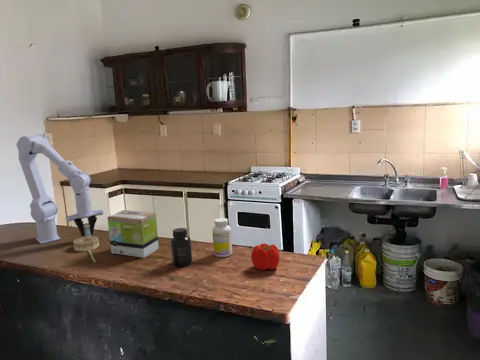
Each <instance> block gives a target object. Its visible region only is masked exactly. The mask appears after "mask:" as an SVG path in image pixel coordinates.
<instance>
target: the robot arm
mask: <svg viewBox="0 0 480 360" xmlns="http://www.w3.org/2000/svg"><path fill="white" fill-rule="evenodd" d="M16 148H17V150H18V156H17V157H18V161H19V164H20V166H21V169H22V172H23V175H24V177H25V178H24V179H25V181H26V183H27V186H28V189H29V191H30V195H31V198H32V201H31V202H30V204H29V208H30V216H31V219H33V221H34V222H35V226H36V234H37V237H35V240H36V241H37V242H38V244H42V245H43V244H47V243H49V242H50V243H51V242H54V241H59V240H62V239H61V237H60V236H59V235H58V229H57V222H56V215H57V213H58V210H59V209H58V205H57V204H56V202H55V201H54V199H53V198H52V197H51V196H50V195H48V194H47V191H46V189H45V185H44V182H43V180H42V176H41V174H40V170H39V168H38V165H37V162H36V157H37V156H38V154H42V155H44V156H45V157H46V158H48V159H49V160H50V161H51V162H52V163H54V164H55V165H56V167H57V171H58V172H59V173H61V175H62V176H64V177H65V178H66V179H67V180H68V181H69V185H70V187H71V188H72V190H73V195H74V200H75V207H76V213H75V214H71V215H68V216H65V222H67V223H70V222H74V224H75V225H76V227H77V228H78V230H79V233H80V236H81V237H84V230H83V224H84V221H83V219H86V218H87V221H88V222H87V223H90V230H91V236H93V235H94V231H95V226H96V223H97V220H98V217H97V216H103V215H104V210H103V209H98V210H93V209H92V202H91V194H90V193H91V192H90V184H91V182H92V178H91V176H90V175H89V174H88V173H87V172H83V171H82V170H81V169H79V168H78V167H77V166H75V165H74V162H73V161H72V160H69V159H67V160H65V159H64V158H63V157H62V156H61V155H60V154H59V153H58V152H57V151H56V149H54V147H53V146H52V145H51V144H50V142H49V140H48V139H47V138H46V137H45V136H44V135H42V134H40V133H39V134H35V135H27V136H26V135H22V136H20V138H18V140H17V142H16Z"/></svg>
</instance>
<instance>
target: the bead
mask: <svg viewBox="0 0 480 360" xmlns="http://www.w3.org/2000/svg"><path fill="white" fill-rule="evenodd" d="M72 243H73V250H74V251H76V252H88V250H90V251H93V250H95V249H97V248H98V247H99V246H100V240H99V237H98V236H95V235H91V236H86V237H82V236H81V237H78V238H76V239H74V240H73V241H72Z"/></svg>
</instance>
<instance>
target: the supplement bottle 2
mask: <svg viewBox="0 0 480 360" xmlns="http://www.w3.org/2000/svg"><path fill="white" fill-rule="evenodd" d="M228 224H229V219H228V218H226V217H225V218H224V217H220V218H216V219H214V226H213V227H212V244H213V253H214V254H213V255H214V256H215V257H217V258H218V257H219V258H225V257H230V256H231V255H232V254H233V238H232V237H233V236H232V228H231V226H230V225H228Z"/></svg>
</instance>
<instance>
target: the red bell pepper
mask: <svg viewBox="0 0 480 360" xmlns="http://www.w3.org/2000/svg"><path fill="white" fill-rule="evenodd" d="M280 257H281V255H280V252H279V249H278V247H277V246H276V245H275V244H268V243H260V244H258V245H257V244H256V245H255V246H254V247H253V249H252V252H251V262H252V265H253V267H254V268H256V269H257V270H260V271H265V270H268V269H269V270H274V269H276V268H277V267H278V266H279V262H280Z"/></svg>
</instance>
